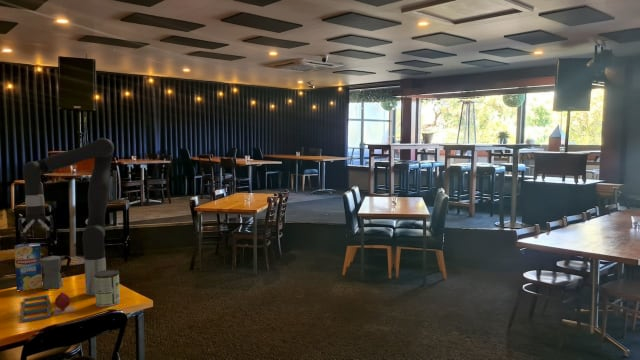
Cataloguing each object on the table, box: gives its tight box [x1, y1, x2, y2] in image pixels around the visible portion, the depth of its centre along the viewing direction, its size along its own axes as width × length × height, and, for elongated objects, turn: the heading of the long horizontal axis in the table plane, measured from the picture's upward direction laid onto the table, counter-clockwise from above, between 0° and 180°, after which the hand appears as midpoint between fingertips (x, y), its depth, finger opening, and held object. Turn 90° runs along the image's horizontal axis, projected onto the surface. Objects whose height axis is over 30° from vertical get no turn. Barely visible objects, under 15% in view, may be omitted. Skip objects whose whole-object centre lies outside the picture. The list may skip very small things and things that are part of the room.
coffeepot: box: [37, 251, 72, 291], centre depth 241 cm, size 15×9×18 cm, turn 117°
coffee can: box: [94, 269, 121, 308], centre depth 216 cm, size 10×10×14 cm
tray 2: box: [22, 300, 51, 312], centre depth 209 cm, size 10×10×1 cm
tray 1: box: [22, 294, 51, 305], centre depth 218 cm, size 10×10×1 cm
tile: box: [51, 305, 76, 317], centre depth 206 cm, size 8×8×1 cm
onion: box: [54, 291, 71, 310], centre depth 206 cm, size 6×6×8 cm
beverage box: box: [13, 242, 43, 291], centre depth 239 cm, size 7×11×22 cm, turn 120°
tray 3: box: [21, 307, 52, 323], centre depth 200 cm, size 10×10×1 cm
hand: (36, 239), depth 222 cm, fingers open, 8 cm apart
